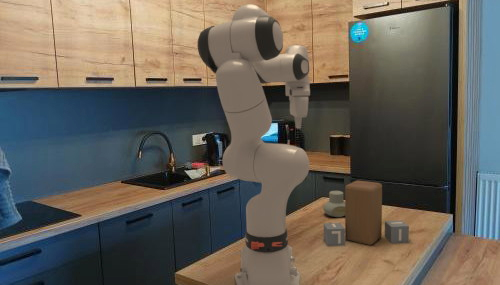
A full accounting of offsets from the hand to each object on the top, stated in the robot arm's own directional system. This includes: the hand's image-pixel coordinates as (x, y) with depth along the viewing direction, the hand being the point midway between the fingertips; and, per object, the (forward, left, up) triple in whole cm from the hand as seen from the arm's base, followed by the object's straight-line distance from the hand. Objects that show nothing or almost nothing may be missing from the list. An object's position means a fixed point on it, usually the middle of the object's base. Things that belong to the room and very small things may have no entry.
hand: (298, 128), depth 143 cm
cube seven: (-14, -10, -39) cm, 43 cm away
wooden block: (-12, -21, -39) cm, 46 cm away
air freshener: (+15, -18, -39) cm, 46 cm away
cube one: (-14, -32, -39) cm, 53 cm away
